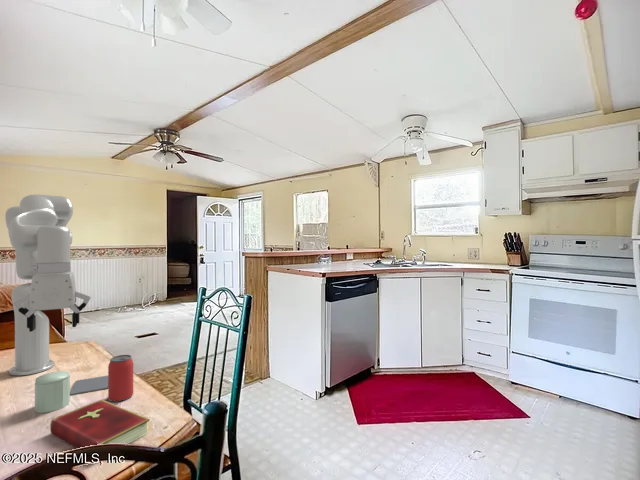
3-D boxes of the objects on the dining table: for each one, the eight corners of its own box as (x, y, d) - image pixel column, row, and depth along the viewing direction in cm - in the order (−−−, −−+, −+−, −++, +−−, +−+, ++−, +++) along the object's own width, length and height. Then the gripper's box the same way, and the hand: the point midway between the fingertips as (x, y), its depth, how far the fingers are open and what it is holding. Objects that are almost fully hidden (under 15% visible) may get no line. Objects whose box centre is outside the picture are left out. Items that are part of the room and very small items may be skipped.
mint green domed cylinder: (39, 403, 97) (39, 374, 97) (71, 397, 101) (71, 369, 101) (31, 415, 90) (31, 384, 90) (66, 408, 94) (66, 378, 94)
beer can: (121, 403, 97) (121, 362, 97) (102, 401, 98) (102, 360, 98) (138, 393, 103) (138, 354, 103) (120, 391, 105) (120, 353, 105)
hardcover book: (97, 463, 72) (97, 444, 72) (50, 436, 82) (50, 418, 82) (149, 435, 82) (149, 418, 82) (101, 413, 92) (101, 398, 92)
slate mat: (75, 381, 112) (75, 380, 112) (114, 375, 117) (114, 374, 117) (69, 395, 102) (69, 394, 102) (111, 388, 107) (111, 386, 107)
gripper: (9, 271, 88) (9, 335, 88) (88, 268, 96) (88, 327, 96) (18, 268, 95) (18, 328, 95) (92, 266, 103) (92, 321, 103)
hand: (54, 328), depth 96 cm, fingers open, 9 cm apart
